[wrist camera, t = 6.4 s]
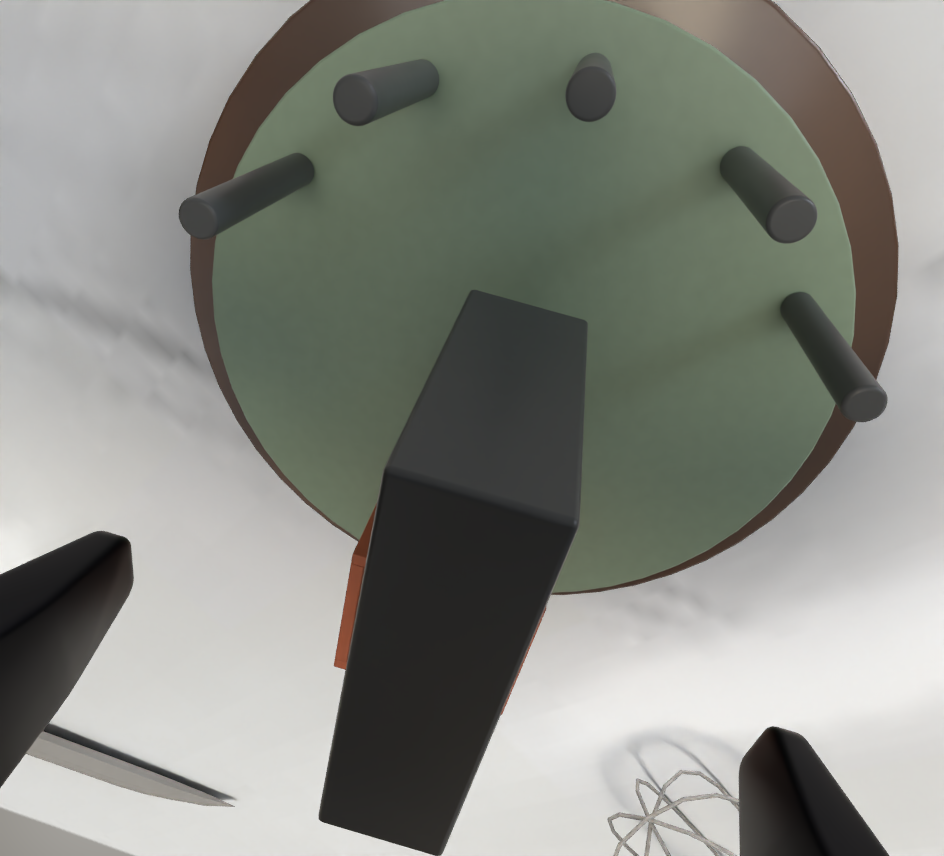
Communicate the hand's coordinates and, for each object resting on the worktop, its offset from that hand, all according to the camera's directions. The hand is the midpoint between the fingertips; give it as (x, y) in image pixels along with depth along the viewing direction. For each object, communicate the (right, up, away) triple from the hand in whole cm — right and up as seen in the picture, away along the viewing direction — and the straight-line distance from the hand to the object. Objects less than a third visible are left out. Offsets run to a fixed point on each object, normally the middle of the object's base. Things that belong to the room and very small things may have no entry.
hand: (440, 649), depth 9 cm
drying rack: (+1, +5, +8) cm, 10 cm away
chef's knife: (-21, -13, +25) cm, 35 cm away
